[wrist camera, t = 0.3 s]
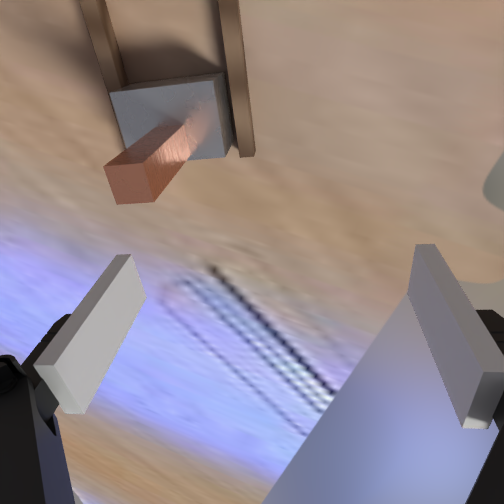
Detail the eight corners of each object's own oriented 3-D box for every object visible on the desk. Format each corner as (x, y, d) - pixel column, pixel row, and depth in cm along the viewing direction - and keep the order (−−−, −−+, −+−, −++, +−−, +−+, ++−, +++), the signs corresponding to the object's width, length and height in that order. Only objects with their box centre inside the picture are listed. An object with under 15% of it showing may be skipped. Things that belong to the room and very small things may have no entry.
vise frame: (31, -192, 28) (-67, -270, 20) (211, -239, 26) (176, -346, 18) (137, 161, 43) (104, 190, 36) (255, 150, 41) (246, 180, 33)
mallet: (133, 83, 38) (37, 120, 24) (224, 72, 36) (178, 105, 22) (151, 147, 42) (77, 213, 28) (234, 140, 40) (200, 205, 26)
